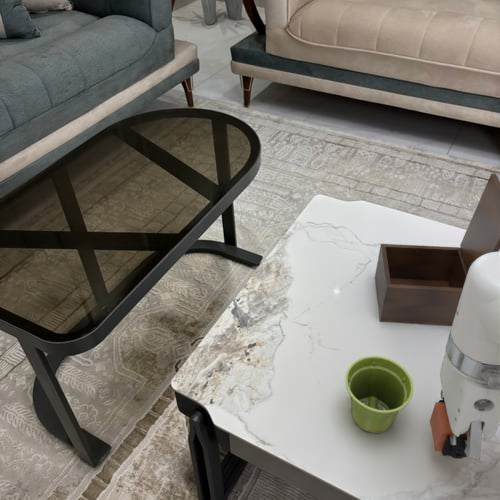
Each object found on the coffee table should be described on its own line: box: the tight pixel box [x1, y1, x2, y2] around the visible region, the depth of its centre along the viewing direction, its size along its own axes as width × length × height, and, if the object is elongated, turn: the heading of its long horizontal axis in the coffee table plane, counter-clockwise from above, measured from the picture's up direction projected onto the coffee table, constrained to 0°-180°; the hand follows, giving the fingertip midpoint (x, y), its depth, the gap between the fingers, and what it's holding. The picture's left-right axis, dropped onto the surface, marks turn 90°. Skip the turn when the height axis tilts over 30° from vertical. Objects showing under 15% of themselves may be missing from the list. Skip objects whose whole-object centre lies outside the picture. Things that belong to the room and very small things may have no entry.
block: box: [429, 401, 467, 453], centre depth 67 cm, size 5×5×5 cm
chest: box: [374, 243, 468, 327], centre depth 91 cm, size 15×12×9 cm
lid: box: [459, 173, 500, 271], centre depth 82 cm, size 16×12×5 cm
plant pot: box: [344, 355, 414, 434], centre depth 74 cm, size 9×9×9 cm
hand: (450, 435), depth 69 cm, fingers closed on block, 4 cm apart
